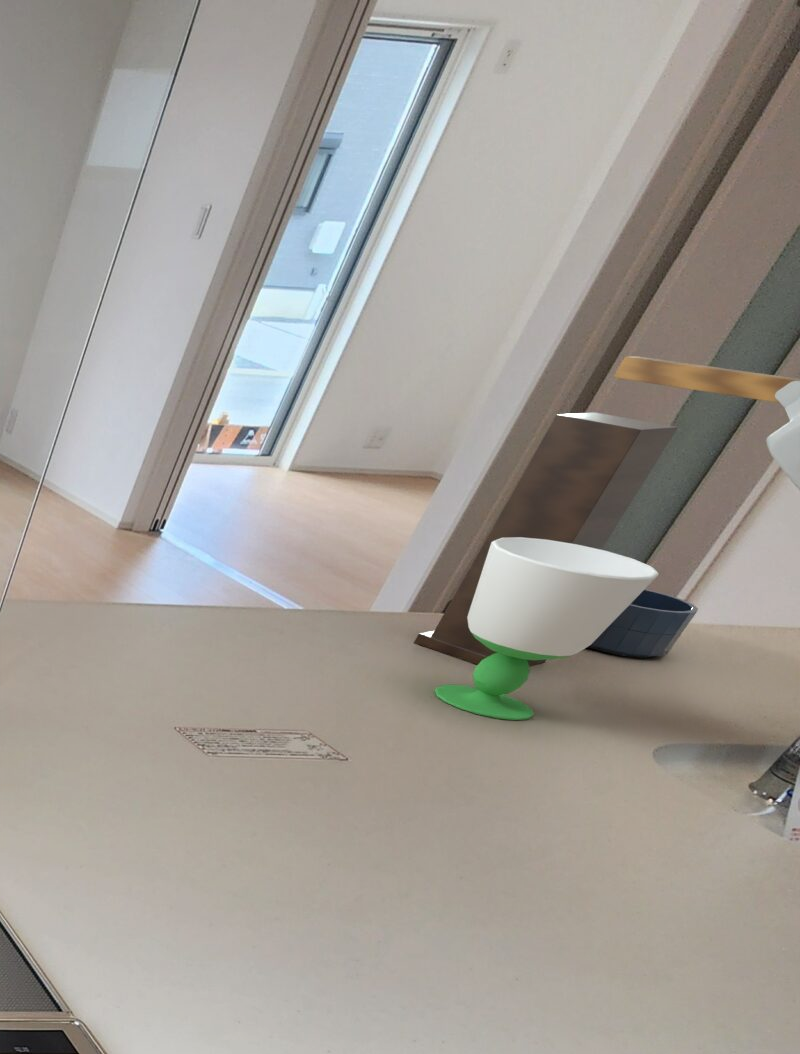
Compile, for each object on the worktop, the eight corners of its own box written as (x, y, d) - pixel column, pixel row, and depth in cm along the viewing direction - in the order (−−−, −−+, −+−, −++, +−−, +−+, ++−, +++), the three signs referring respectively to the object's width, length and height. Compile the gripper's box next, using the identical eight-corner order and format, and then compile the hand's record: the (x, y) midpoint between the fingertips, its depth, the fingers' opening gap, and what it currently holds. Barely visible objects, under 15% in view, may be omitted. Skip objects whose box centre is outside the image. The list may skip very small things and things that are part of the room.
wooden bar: (839, 409, 105) (855, 386, 104) (828, 410, 104) (844, 387, 103) (624, 377, 118) (636, 356, 117) (612, 377, 117) (625, 356, 116)
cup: (581, 739, 113) (687, 586, 104) (432, 715, 116) (521, 564, 107) (529, 691, 124) (621, 548, 114) (393, 670, 127) (472, 529, 117)
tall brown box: (545, 662, 132) (694, 428, 117) (499, 672, 128) (647, 432, 113) (459, 634, 139) (589, 410, 124) (413, 642, 136) (541, 412, 120)
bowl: (682, 654, 138) (715, 607, 134) (637, 665, 133) (670, 616, 130) (582, 624, 146) (611, 579, 142) (536, 633, 141) (565, 587, 138)
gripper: (993, 458, 103) (884, 356, 108) (903, 469, 96) (789, 358, 100) (902, 510, 109) (802, 410, 113) (810, 524, 101) (706, 417, 106)
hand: (795, 386), depth 107 cm, fingers closed on wooden bar, 2 cm apart
